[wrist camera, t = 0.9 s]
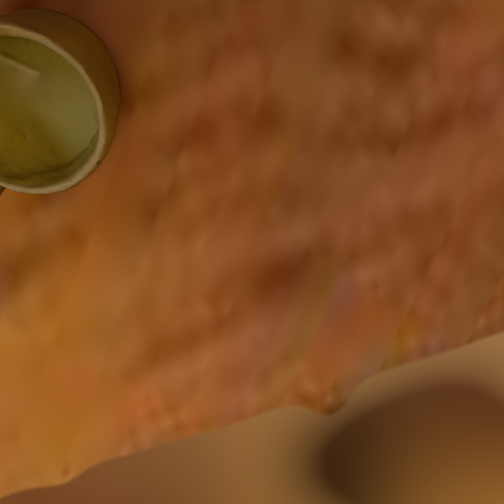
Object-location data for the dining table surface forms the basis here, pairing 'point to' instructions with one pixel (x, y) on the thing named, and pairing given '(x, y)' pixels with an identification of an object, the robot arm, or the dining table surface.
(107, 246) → the dining table surface
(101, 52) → the mug
